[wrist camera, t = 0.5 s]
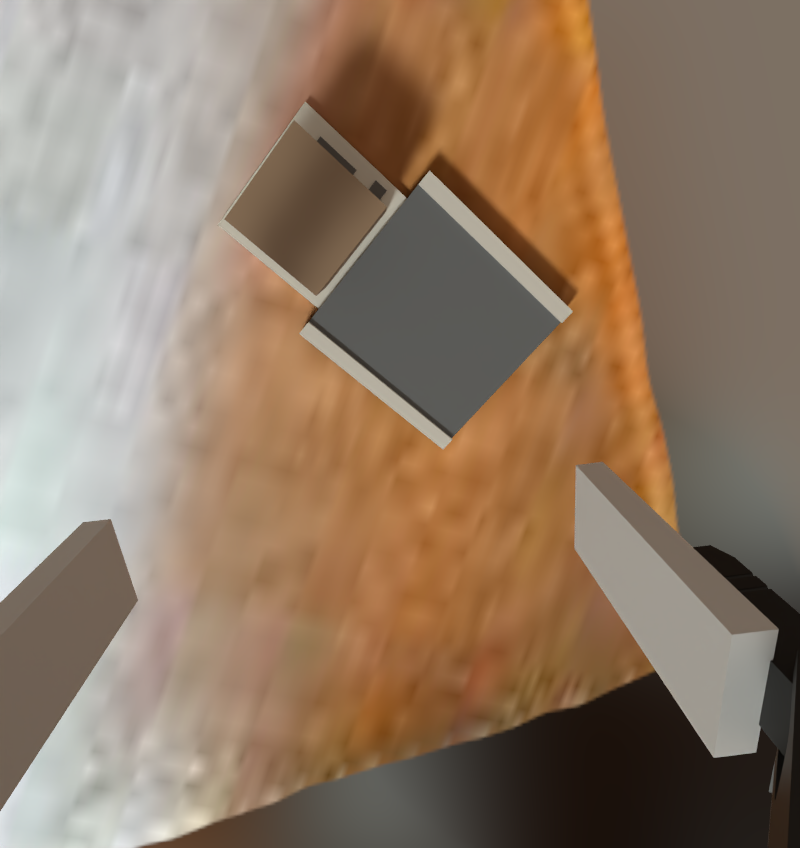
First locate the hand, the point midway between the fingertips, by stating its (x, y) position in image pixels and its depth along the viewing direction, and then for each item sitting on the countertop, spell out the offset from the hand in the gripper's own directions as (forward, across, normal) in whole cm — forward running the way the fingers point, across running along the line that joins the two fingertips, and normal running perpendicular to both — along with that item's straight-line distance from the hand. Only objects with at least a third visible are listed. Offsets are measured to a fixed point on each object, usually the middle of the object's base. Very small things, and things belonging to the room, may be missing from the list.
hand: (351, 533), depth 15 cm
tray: (+23, +5, +2) cm, 23 cm away
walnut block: (+22, -2, +10) cm, 24 cm away
